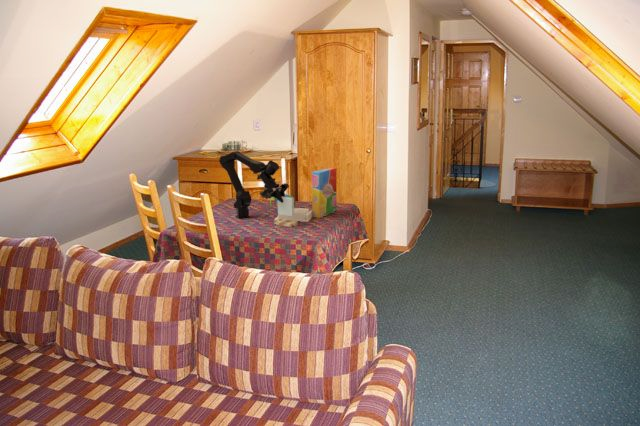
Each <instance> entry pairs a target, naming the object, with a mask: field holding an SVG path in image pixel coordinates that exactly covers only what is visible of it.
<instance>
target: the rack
mask: <svg viewBox="0 0 640 426" xmlns="http://www.w3.org/2000/svg"><path fill="white" fill-rule="evenodd" d="M279 219H285V220H291V221H300V222H304V223H305V222H306V223H307V222H309V221H311V220H312V219H313V217H312V209H311V210H310V209H309V208H303V207H301V208H298V207H297V208H296V207H294V216H288V215H282V214H278V213H277V216H276V217H275V218H274V221H276V220H278V221H279Z"/></svg>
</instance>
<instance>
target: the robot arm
mask: <svg viewBox="0 0 640 426" xmlns="http://www.w3.org/2000/svg"><path fill="white" fill-rule="evenodd" d="M218 161H219V164H220V166H221V167H222V169H224V170H225V171H226V173H227V175H228V176H229V179H230V181H231V184H232V186H233V188H234V191H235V200H236V201H235V202H234V203H233V207H234V209H235V210H236V212H235V213H236V215H235V218H238V219H239V220H240V219H246V218H250V211H249V207H250V206H251V203H252V195H251V194H250V191H249V190H245V188H244V185H243V184H242V181H241V180H240V177H239V175H238V173H237V170H236V169H235V165H236V162H235V161H238V162H240V163H241V164H242V165H245V166H247V167H248V168H249V169H250V171H251V172H253V173H254V174H257V177H256V179H257V180H261V181H262V182H263V184H264V185H263V188H265V189H264V190H262V191H260V192H259V195H260V196H261V197H262V199H263V198H264V199H266V200H268V199H271V198H272V197H274V198H276V199H277V200H279V201H280V202H282V203H283V199H282V197H281V196H283V197H285V194H286V193H285V192H286V191H287V190H288V189H289V187H290V185H289V184H288V183H282V184H281V185H280V183H277V182H276V178H275V177H272V176H274V175H275V174H276V172H277V171H278V170H279V169H280V165H279V164H278V162H275V161H273V159H272V160H268V162H267V163H266V164H265V162H263V161H259V160H256V159H255V160H254V159H253V158H251V157H249V156H247V155H246V154H245V155H244V153H242V152H241V151H238V150H236V151H232V152H230V153H228V154H225V155H220V157H219V160H218ZM274 198H273V199H274Z"/></svg>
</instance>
